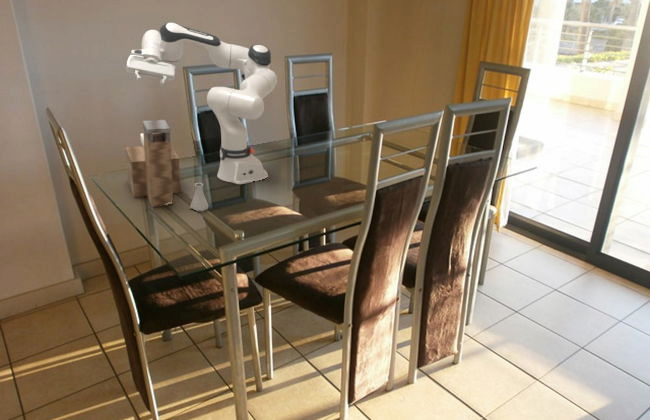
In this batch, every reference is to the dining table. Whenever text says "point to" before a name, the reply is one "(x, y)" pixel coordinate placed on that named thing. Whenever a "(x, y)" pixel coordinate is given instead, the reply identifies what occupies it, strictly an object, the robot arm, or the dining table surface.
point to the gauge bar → (142, 138)
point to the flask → (199, 199)
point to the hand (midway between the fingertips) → (150, 82)
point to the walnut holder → (154, 165)
